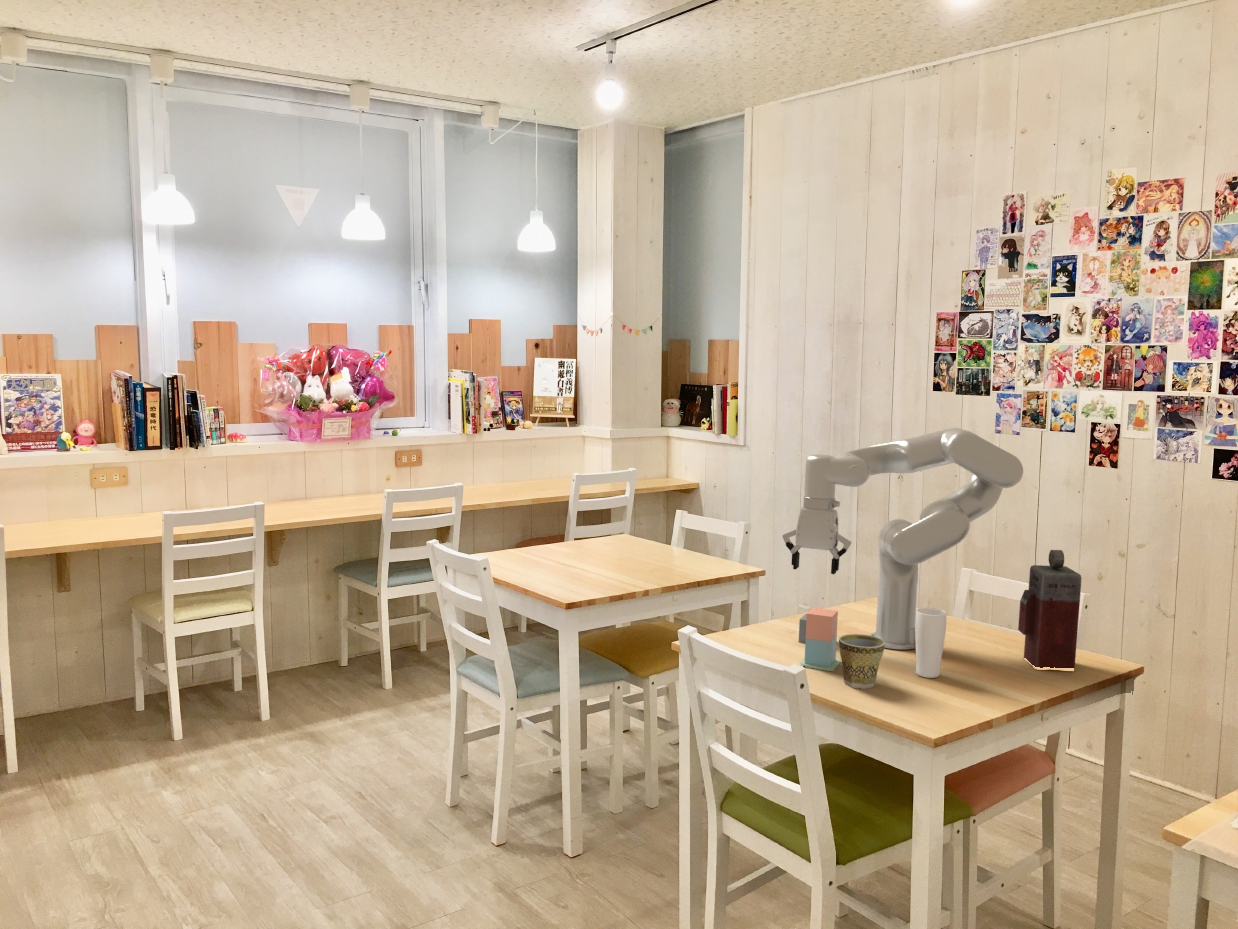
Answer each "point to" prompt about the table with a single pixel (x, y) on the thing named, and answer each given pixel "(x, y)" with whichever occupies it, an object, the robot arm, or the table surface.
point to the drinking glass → (929, 641)
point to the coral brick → (821, 624)
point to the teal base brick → (820, 652)
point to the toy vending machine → (1051, 614)
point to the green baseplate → (822, 666)
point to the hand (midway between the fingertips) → (814, 570)
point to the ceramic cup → (860, 659)
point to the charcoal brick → (802, 629)
